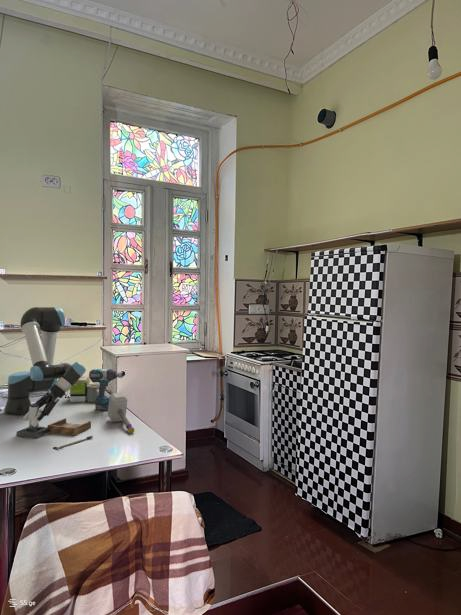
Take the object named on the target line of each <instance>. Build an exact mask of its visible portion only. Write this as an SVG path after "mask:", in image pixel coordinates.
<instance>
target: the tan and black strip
mask: <svg viewBox="0 0 461 615" xmlns="http://www.w3.org/2000/svg"><path fill="white" fill-rule="evenodd" d="M92 438H93V435H89V436H87V437H86V438H84V439H79V440H75V441H73V442H70V443H68V444H67V443H66V444H63V445H60V446H59V447H57V446H54V447H53V448H52V449H53V450H55V451H57V452H58V451H60V450H62V449H64V448H67V447H69V446H72V445H76V444H79V443H82V442H85V441H88V440H90V439H92Z"/></svg>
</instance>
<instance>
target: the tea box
mask: <svg viewBox="0 0 461 615" xmlns="http://www.w3.org/2000/svg"><path fill="white" fill-rule="evenodd" d="M90 381H91V379H90V378H89V375H83V376H81V377H80V378H79V380H78V381H77V382H76V383H75V384H74V385H73V386H72V387H71V389H69V394H70V395H69V401H70V403H74V402H75V403H77V402H79V403H83V402H84V403H85V402H87V386H88V385H91V382H90Z"/></svg>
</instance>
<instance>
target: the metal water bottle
mask: <svg viewBox="0 0 461 615" xmlns="http://www.w3.org/2000/svg"><path fill="white" fill-rule="evenodd" d="M39 413H40V408H39V406H38V404H34V403H31V406H30V407H29V420H28V427H29V431H31V432H36V431H38V430H39V426H40V425H39V423H40V422H39V423H38V424H37V425H36V426H35V427H34V426H33V425H31V424H30V423H31V422H32V421H33V420H34V419H35V418H36V417H37V416H38V414H39Z"/></svg>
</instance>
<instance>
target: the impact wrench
mask: <svg viewBox="0 0 461 615" xmlns="http://www.w3.org/2000/svg"><path fill="white" fill-rule="evenodd" d="M88 376H89V378H90V381H91V382H92V383H98V384H99V385H100V386H99V395H98V396H97V397H96V402H95V409H96V410H98V411H108V407H109V396H108V395H105V392H106V389H107V387H108V386H109V383H110V382H111V381H113V380H115V379H117V378H118V379H122V378H123V377H124V372H123V371H119V372H117V371H116V370H114V369H112V368H108V369H107V368H98V369H91V370H90V371H89V374H88Z"/></svg>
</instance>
